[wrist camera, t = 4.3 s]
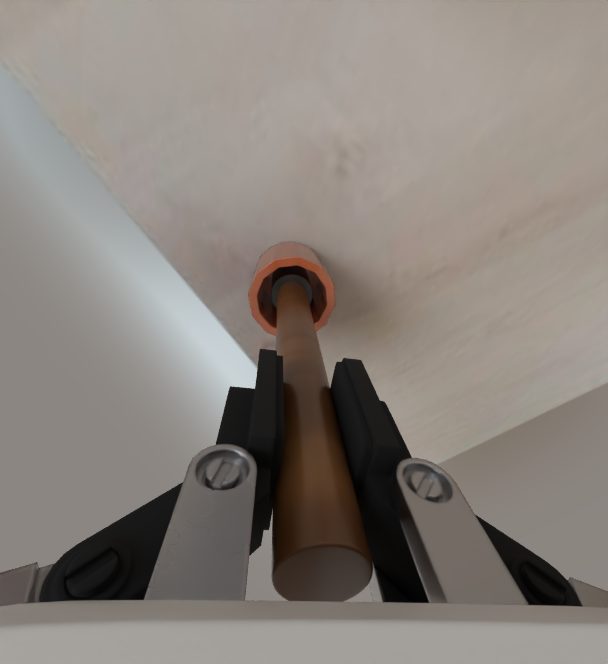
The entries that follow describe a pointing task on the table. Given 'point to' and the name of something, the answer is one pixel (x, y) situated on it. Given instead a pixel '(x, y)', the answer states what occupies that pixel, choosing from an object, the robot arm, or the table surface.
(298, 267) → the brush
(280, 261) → the pen cup
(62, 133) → the table surface
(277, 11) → the table surface
